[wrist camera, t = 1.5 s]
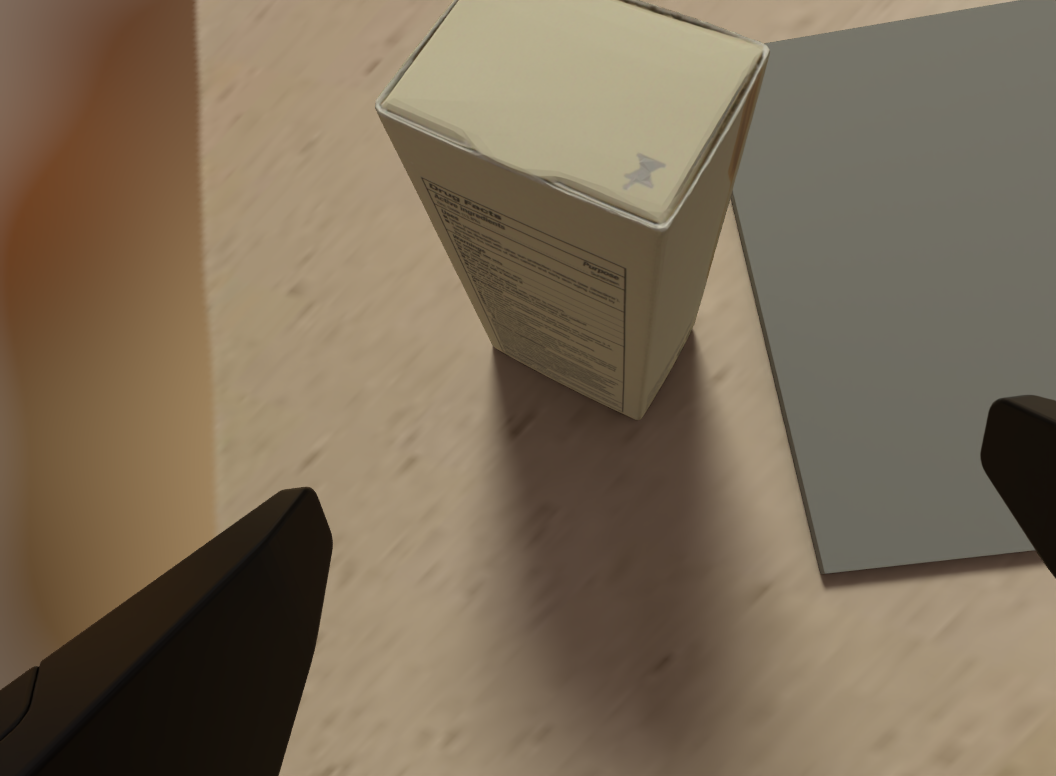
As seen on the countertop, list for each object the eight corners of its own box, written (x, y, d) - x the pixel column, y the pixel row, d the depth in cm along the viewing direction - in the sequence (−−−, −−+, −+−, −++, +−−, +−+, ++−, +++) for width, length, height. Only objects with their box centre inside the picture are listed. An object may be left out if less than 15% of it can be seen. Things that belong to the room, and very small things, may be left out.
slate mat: (1307, 519, 19) (1322, 518, 18) (820, 573, 20) (824, 573, 19) (1060, 1, 25) (1067, -8, 25) (698, 62, 26) (699, 54, 26)
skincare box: (697, 322, 23) (799, 44, 11) (639, 427, 22) (683, 243, 10) (540, 248, 24) (486, -64, 13) (480, 343, 23) (363, 101, 12)
